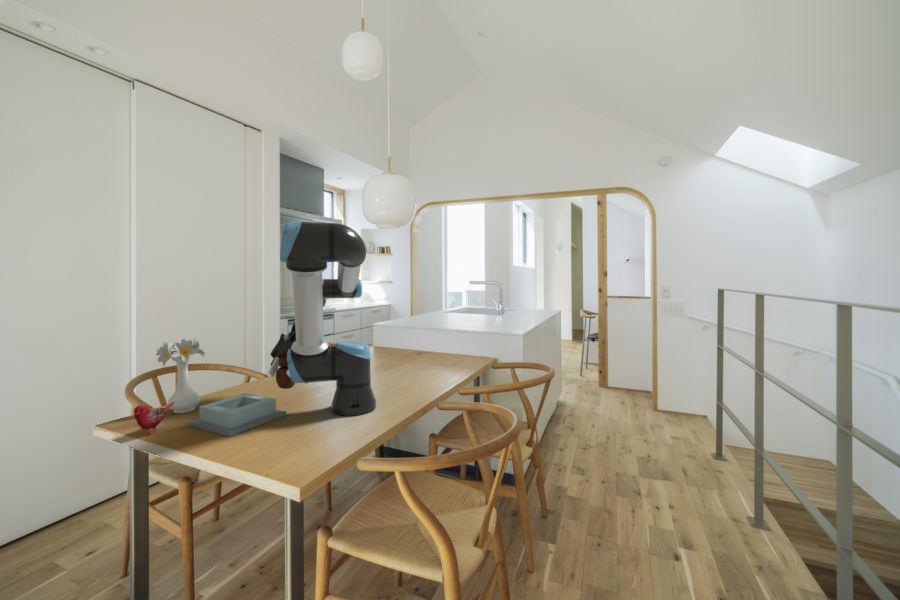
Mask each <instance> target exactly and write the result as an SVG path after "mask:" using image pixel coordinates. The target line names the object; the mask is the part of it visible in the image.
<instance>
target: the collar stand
mask: <svg viewBox="0 0 900 600" xmlns="http://www.w3.org/2000/svg"><path fill="white" fill-rule="evenodd" d="M198 409H199V417H198V418H195V419H192V420H190V421H188V426H189V425H190V426H189V427H193V428H197V429H200V430H204V431H208V432H211V433H215V434H218V435H223V436H225V437H228V438H229V437H231V438H232V437H233V436H237V435H238V434H241V433H244V432H246V431H248V430H249V431H250V430H251V429H253V428H257V427H259V426H261V425H264V424H266V423H269V422H272V421H275V420H277V419H280V418H283V417H285V416H287V411H286V410H281V409H277V399H276V398H273V397H269V396H268V397H267V396H264V395H259V394H254V393H249V392H245V393H240V394H237V395H235V396H230V397H227V398H224V399H220V400H218V401H213V402H210V403H207V404H204V405H200V406H199V407H198ZM282 416H283V417H282ZM274 419H275V420H274Z"/></svg>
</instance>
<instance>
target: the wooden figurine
mask: <svg viewBox="0 0 900 600" xmlns="http://www.w3.org/2000/svg"><path fill="white" fill-rule="evenodd" d="M291 348H292V347H291V346H290V349H291ZM287 352H288V351H287V347H286V350H285V352H284V350H283V354H282V353H281V355H280V359H279V362H278V363H279V367H278V369H277V371H276V373H275V380H276V381H275V382H276V385H277V386H278V388H280V389H282V390H283V389H284V390H287V389H291V388H293V387H294V386H295V385H296V383H295V382H293V381H292V380H291V377H289V376H288V375H287V374H286V373H287V371H288V362H287Z"/></svg>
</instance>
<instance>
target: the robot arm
mask: <svg viewBox="0 0 900 600" xmlns="http://www.w3.org/2000/svg"><path fill="white" fill-rule="evenodd" d="M366 256H367V247H366V243H365V242H364V240H363V238H362V237H361V235H360V234H359V233H358V232H356V230H354V229H353V228H352V227H350V226H347V225H345V224H342V223H340V222H339V223H338V222H313V221H289V222H286V223H285V224H284V225H283V227H282V231H281V240H280V250H279V257H280V258H279V259H280V260H279V261H280V262H283V263H285V265H286V269H287V271H289V272H290V273H291V274H292V275H291V276H292V290H293V294H292V295H293V308H294V322H293V323H292V326H291V329H290V331H289V332H288V334H284V333H280V338H279V340H278V341H277V343H276V344H275V346H274V348H273V349H272V351H271V352H270V357H272V358H273V359H272V361H271V363H270V367H269V369H268V372H267V373H268V374H269V375H270V377H275V376H276V371H277V370H278V368H280V366H279V363H278V362H279V359H280V355H281V353H282V354H283V350H284V352H285V350H286V347H287V351H288V352H287V362H288V371H287V373H286V374H287V375H288V376H289V377H291V380H292V381H293V382H295V384H309V383H322V382H331V381H335V383H336V384H335V385H336V387H335V391H334V394H333V399H332V402H331V412H332V413H333V414H335V415H339V416H347V417H351V416H360V415H364V414H365V415H366V414H368V413H371V412H373V411H374V410H376V408H377V400H376V397H375V395H374V391H373V388H372V385H371V381H372V378H371V377H372V375H371V359H372V357H371V348H370V347H369V345H368V344H366V343H363V342H360V341H351V340H350V341H349V340H340V341H336V342H335V343H334V346H330V343H329V341H328V340H327V339H325V337H324V336H325V335H324V307H325V306H326V303H327V300H328V299H355V298H356V299H357V298H358V299H359V298H361V297H362V295H363V283H362V280H361V279H359V278H360V272H361V267H362V264H363V263H364V261H365V260H366ZM334 262H335V263H337V278H323V272H324V271H325V270H326V269H328V263H334ZM290 346H291V349H290Z"/></svg>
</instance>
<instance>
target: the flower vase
mask: <svg viewBox="0 0 900 600" xmlns="http://www.w3.org/2000/svg"><path fill="white" fill-rule="evenodd" d="M196 354H199V355H201V356H202V357H206V356H205V355H206V353H205V351H204V350H203V349H202V348H201V349H200V343H199V341H196V338H193V340H191V339H190V340H187V339H186V338H182V339H181V341H180V342H174V343H172V340H171V339H170V340H169V341H166V340H165V341H163V344H162V346H159V348H157V350H156V354H155V355H156V356H158V358H157V362H158V363H162V366H163V367H164V366H165V365H166V364H167V362H169V360H170V359H171V360H172V361H174V362H175V363H176V367H177V368H176V369H177V384H176V387H175V390H174V392H173V393H172V395H171V396H170V397H169V398H168V400H167V406H168V405H169V404H171V403H172V402H174V403H173V404H172V406H171V407H170V408H169V409H171V410H172V411H173V413H175V414H185V413H190V412H193V411H195V410H196V406H197V405H198V404H199V403H200V401H201V396H200V395H199V394H198V393H197V392H196V391H194V389H193V388H192V386H191V384H190V378H189V361H190V358H191V356H194V355H196Z"/></svg>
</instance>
